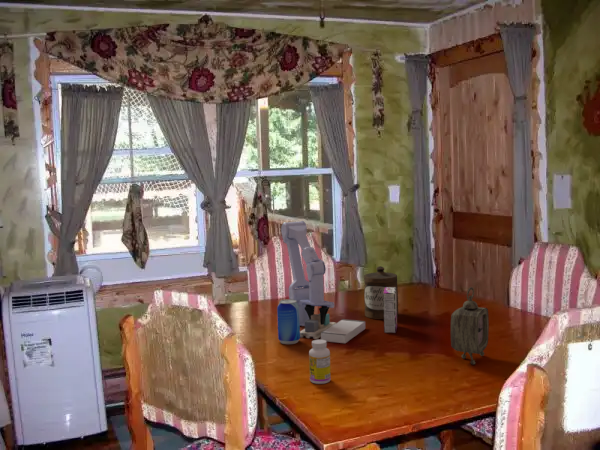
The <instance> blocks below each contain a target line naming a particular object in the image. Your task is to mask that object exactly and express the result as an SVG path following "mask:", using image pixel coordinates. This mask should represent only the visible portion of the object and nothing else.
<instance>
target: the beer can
mask: <svg viewBox="0 0 600 450" xmlns="http://www.w3.org/2000/svg"><path fill="white" fill-rule="evenodd" d="M276 311H277V313H276V316H277V339H278V340H279V342H280V344H283V345H294V344H297V343H299V340H300V339H301V337H300V331H301V327H300V320H299V306H298V304H297V301H296V300H293V299H289V298H288V299H281V300H279V303H278V305H277V309H276Z"/></svg>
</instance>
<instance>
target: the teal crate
mask: <svg viewBox="0 0 600 450" xmlns="http://www.w3.org/2000/svg"><path fill="white" fill-rule="evenodd" d="M318 314H319V315H320V313H318ZM330 318H331V317H330V313H327V314H326V318H325V323H324V326H326V325H328V324H329V323H330V322H331V321H330V320H331V319H330Z"/></svg>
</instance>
